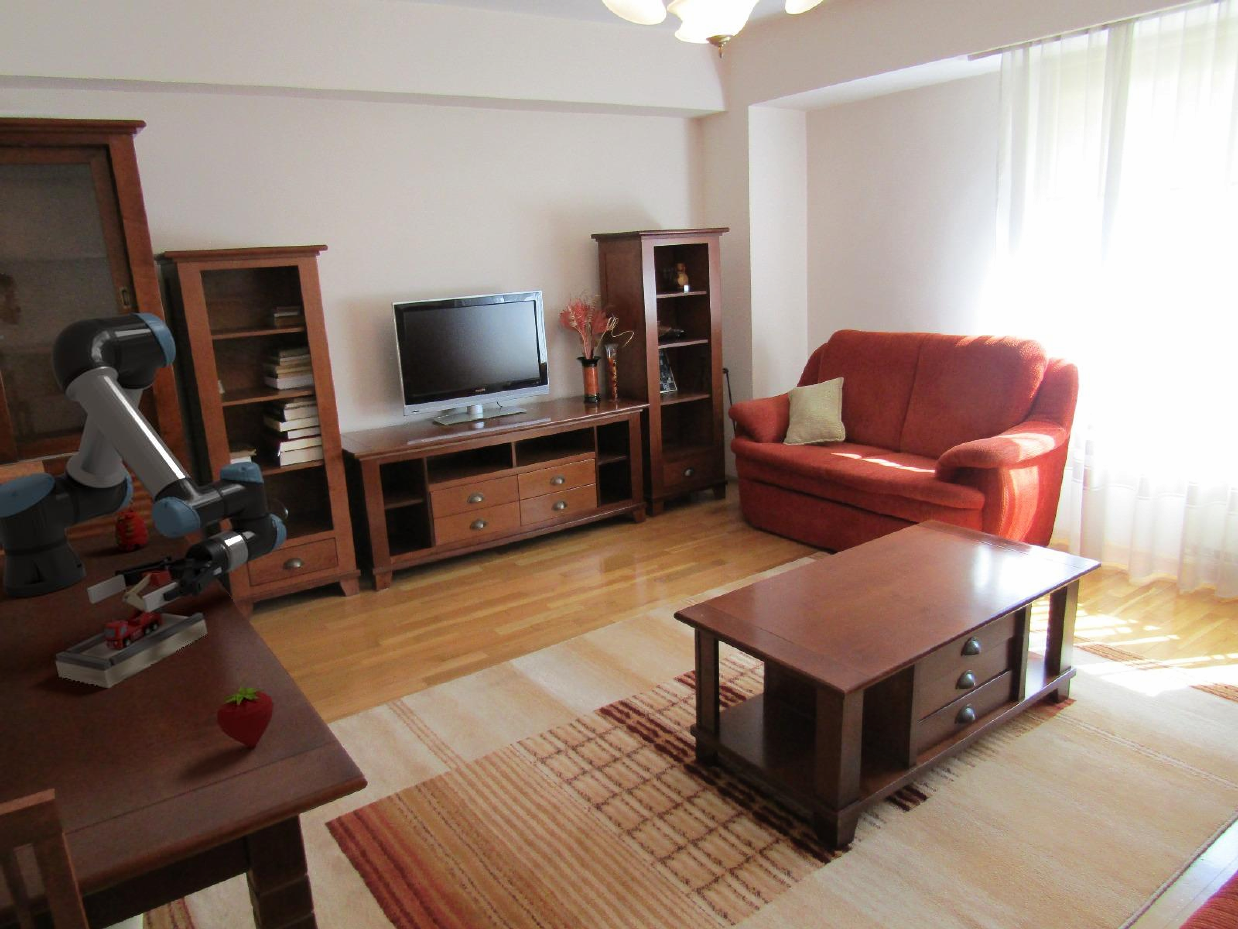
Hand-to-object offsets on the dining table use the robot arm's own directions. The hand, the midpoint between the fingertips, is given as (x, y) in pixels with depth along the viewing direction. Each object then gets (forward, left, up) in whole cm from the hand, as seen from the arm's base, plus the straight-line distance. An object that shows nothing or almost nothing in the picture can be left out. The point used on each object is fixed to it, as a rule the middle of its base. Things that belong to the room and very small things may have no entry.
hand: (116, 600), depth 150 cm
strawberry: (+14, +43, -11) cm, 46 cm away
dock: (-1, 0, -11) cm, 11 cm away
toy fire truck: (-4, 0, -8) cm, 9 cm away
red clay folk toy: (-43, -53, -11) cm, 69 cm away
